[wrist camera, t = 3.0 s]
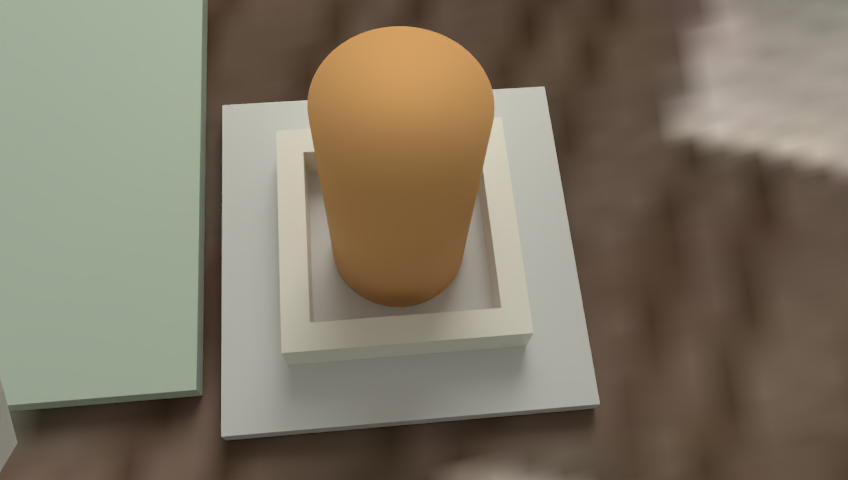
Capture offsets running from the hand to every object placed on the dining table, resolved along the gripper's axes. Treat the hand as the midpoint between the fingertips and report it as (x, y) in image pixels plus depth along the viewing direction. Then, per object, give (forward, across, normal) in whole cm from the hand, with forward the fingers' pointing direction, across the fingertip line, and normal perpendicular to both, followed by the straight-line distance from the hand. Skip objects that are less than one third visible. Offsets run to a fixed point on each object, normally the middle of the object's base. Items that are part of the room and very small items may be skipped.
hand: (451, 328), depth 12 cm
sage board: (+29, +15, +5) cm, 33 cm away
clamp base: (+24, -1, +9) cm, 26 cm away
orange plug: (+24, -1, +9) cm, 25 cm away
